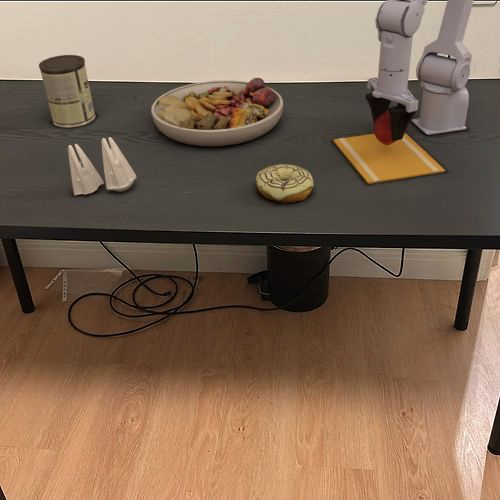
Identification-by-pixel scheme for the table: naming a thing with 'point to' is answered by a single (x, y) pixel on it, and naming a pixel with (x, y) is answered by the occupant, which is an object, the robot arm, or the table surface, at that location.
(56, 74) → the coffee can
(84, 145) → the table surface
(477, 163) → the table surface
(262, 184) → the decorated donut
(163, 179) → the table surface
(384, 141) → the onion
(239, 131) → the bowl
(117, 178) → the shaker set
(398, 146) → the towel
